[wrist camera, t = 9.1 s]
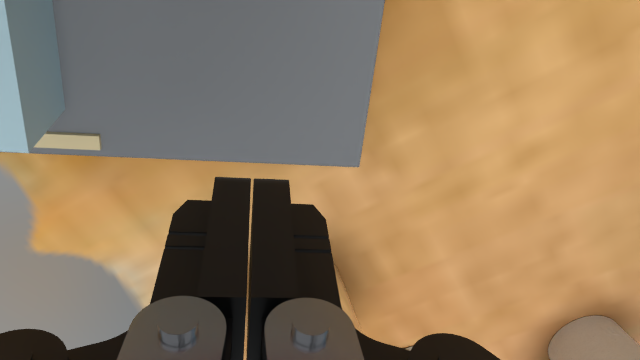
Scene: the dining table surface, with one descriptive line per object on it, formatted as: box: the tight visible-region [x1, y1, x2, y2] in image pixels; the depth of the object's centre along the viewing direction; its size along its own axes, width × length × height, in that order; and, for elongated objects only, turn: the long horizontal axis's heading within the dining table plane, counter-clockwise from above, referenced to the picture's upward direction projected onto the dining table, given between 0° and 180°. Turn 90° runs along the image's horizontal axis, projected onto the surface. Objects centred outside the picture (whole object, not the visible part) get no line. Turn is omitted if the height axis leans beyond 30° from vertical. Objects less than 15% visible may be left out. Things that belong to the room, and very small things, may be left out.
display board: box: [15, 0, 385, 167], centre depth 25 cm, size 15×28×1 cm, turn 84°
